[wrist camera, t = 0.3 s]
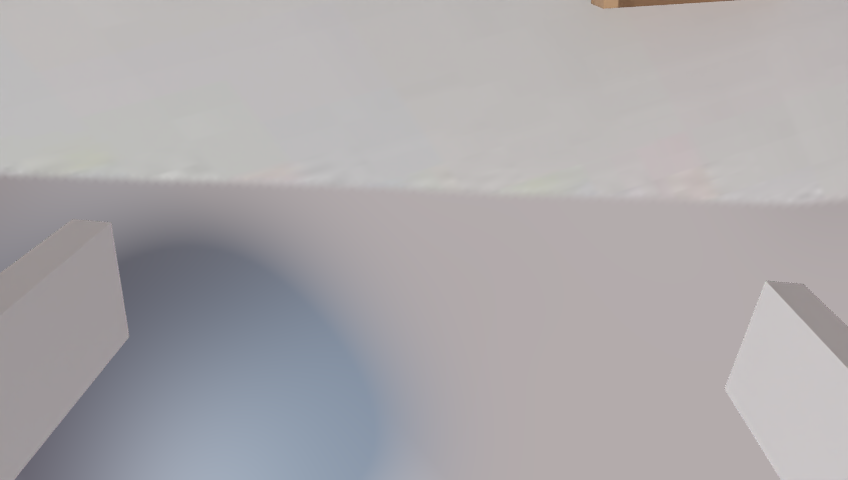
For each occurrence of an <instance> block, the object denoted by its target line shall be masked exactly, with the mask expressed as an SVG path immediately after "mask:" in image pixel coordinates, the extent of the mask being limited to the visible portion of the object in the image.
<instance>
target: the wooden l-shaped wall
mask: <svg viewBox="0 0 848 480" xmlns="http://www.w3.org/2000/svg"><path fill="white" fill-rule="evenodd" d="M716 1H732V0H591V4H594V5H596V6H598V7H601V8H603V9H604V8H620V7H636V6H652V5H668V4H684V3H700V2H716Z"/></svg>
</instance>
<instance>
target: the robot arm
mask: <svg viewBox="0 0 848 480" xmlns="http://www.w3.org/2000/svg"><path fill="white" fill-rule="evenodd" d="M128 337H129V332H128V326H127V319H126V313H125V307H124V301H123V294H122V288H121V281H120V275H119V269H118V262H117V256H116V250H115V244H114V237H113V231H112V225H111V223H110V222H100V221H89V220H77V219H72V220H71V221H70V222H68V223H67V224H66V225H64V226H63V227H61V228H60V229H59V230H57V231H56V232H55V233H53V234H52V235H51V236H49V237H48V238H47V239H45V240H44V241H43V242H41V243H40V244H39V245H37V246H36V247H34V248H33V249H32V250H30V251H29V252H28V253H26V254H25V255H24V256H22V257H21V258H20V259H18V260H17V261H16V262H14V263H13V264H12V265H10V266H9V267H8V268H6V269H5V270H4V271H2V272H1V273H0V480H14V479H15V478H16V477H17V476H18V474H19V473H20V472H21V470H22V469H23V468H24V467H25V466H26V464H27V463H28V462H29V461H30V459H31V458H32V457H33V456H34V454H35V453H36V452H37V451H38V449H39V448H40V447H41V446H42V444H43V443H44V442H45V441H46V440H47V438H48V437H49V436H50V434H51V433H52V432H53V431H54V429H55V428H56V427H57V426H58V425H59V423H60V422H61V421H62V420H63V418H64V417H65V416H66V415H67V413H68V412H69V411H70V410H71V408H72V407H73V406H74V405H75V403H76V402H77V401H78V400H79V398H80V397H81V396H82V395H83V393H84V392H85V391H86V390H87V388H88V387H89V386H90V385H91V383H92V382H93V381H94V379H96V377H97V376H98V375H99V374H100V372H101V371H102V370H103V369H104V367H105V366H106V365H107V363H108V362H109V361H110V360H111V359H112V357H113V356H114V355H115V354H116V352H117V351H118V350H119V349H120V347H121V346H122V345H123V344H124V342H125V341H126V340H127V338H128ZM725 390H726V392H727V394H728V395H729V397H730V399H731V400H732V402H733V403H734V405H735V407H736V408H737V410H738V412H739V413H740V415H741V416H742V418H743V420H744V421H745V423H746V424H747V426H748V428H749V429H750V431H751V433H752V434H753V436H754V437H755V439H756V441H757V442H758V444H759V446H760V447H761V449H762V450H763V452H764V453H765V455H766V457H767V458H768V460H769V462H770V463H771V465H772V466H773V468H774V470H775V471H776V473H777V475H778V476H779V478H780V479H781V480H848V326H847V325H845V323H843V322H842V321H841V320H840V319H839V318H838V317H837V316H836V315H835V314H834V313H833V312H832V311H831V310H830V309H829V308H828V307H826V305H825V304H824V303H823V302H822V301H821V300H820V299H819V298H817V297H816V296H815V295H814V294H813V293H812V292H811V291H810V290H809V289H808V288H807V287H806V286H805V285H804V284H797V283H787V282H786V283H785V282H775V281H765V283H764V286H763V289H762V292H761V294H760V297H759V299H758V302H757V305H756V307H755V310H754V312H753V315H752V318H751V320H750V323H749V326H748V328H747V331H746V334H745V337H744V339H743V342H742V345H741V347H740V350H739V352H738V355H737V357H736V360H735V363H734V365H733V368H732V370H731V373H730V376H729V378H728V381H727V384H726V386H725Z"/></svg>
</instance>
